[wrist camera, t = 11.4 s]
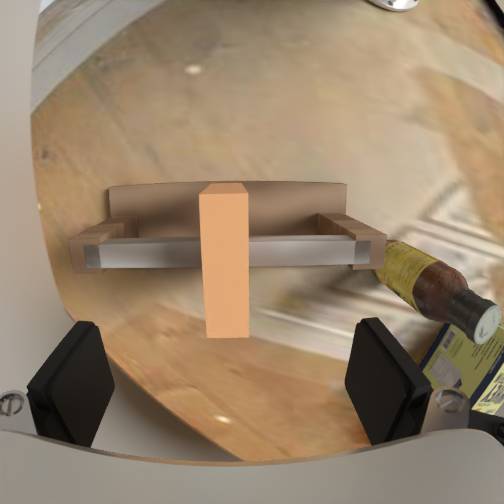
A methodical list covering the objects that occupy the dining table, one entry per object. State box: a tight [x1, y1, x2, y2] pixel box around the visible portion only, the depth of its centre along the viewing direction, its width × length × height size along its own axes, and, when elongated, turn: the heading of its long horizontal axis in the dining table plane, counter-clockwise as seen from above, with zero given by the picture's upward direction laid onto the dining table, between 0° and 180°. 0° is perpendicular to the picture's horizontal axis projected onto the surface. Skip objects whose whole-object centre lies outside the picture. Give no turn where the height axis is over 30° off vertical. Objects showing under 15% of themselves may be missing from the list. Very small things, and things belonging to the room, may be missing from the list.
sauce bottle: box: [373, 240, 501, 345], centre depth 29 cm, size 7×6×20 cm
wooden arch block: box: [199, 183, 249, 338], centre depth 25 cm, size 10×3×12 cm, turn 0°
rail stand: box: [68, 181, 387, 274], centre depth 30 cm, size 10×28×13 cm, turn 90°
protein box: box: [419, 321, 504, 415], centre depth 37 cm, size 10×16×16 cm
